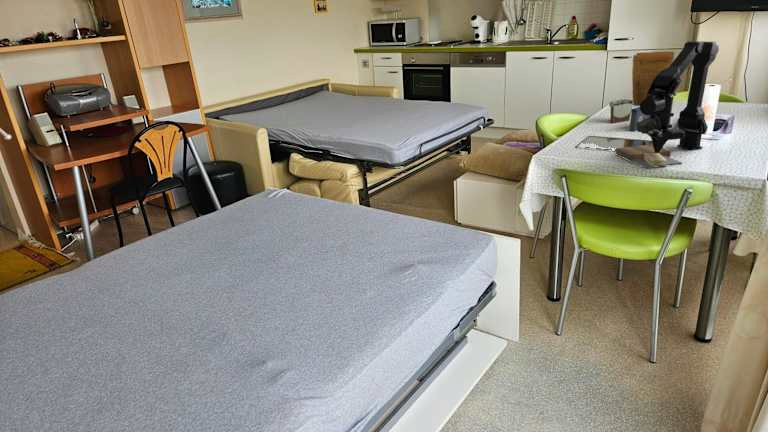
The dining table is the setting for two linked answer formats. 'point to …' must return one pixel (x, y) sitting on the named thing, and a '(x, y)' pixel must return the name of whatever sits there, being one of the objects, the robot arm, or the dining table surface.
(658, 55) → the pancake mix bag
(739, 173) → the dining table surface
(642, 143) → the rectangular mirror
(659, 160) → the maple tile
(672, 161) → the rubber mat
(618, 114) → the food container
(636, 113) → the vhs cassette tape
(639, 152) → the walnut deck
